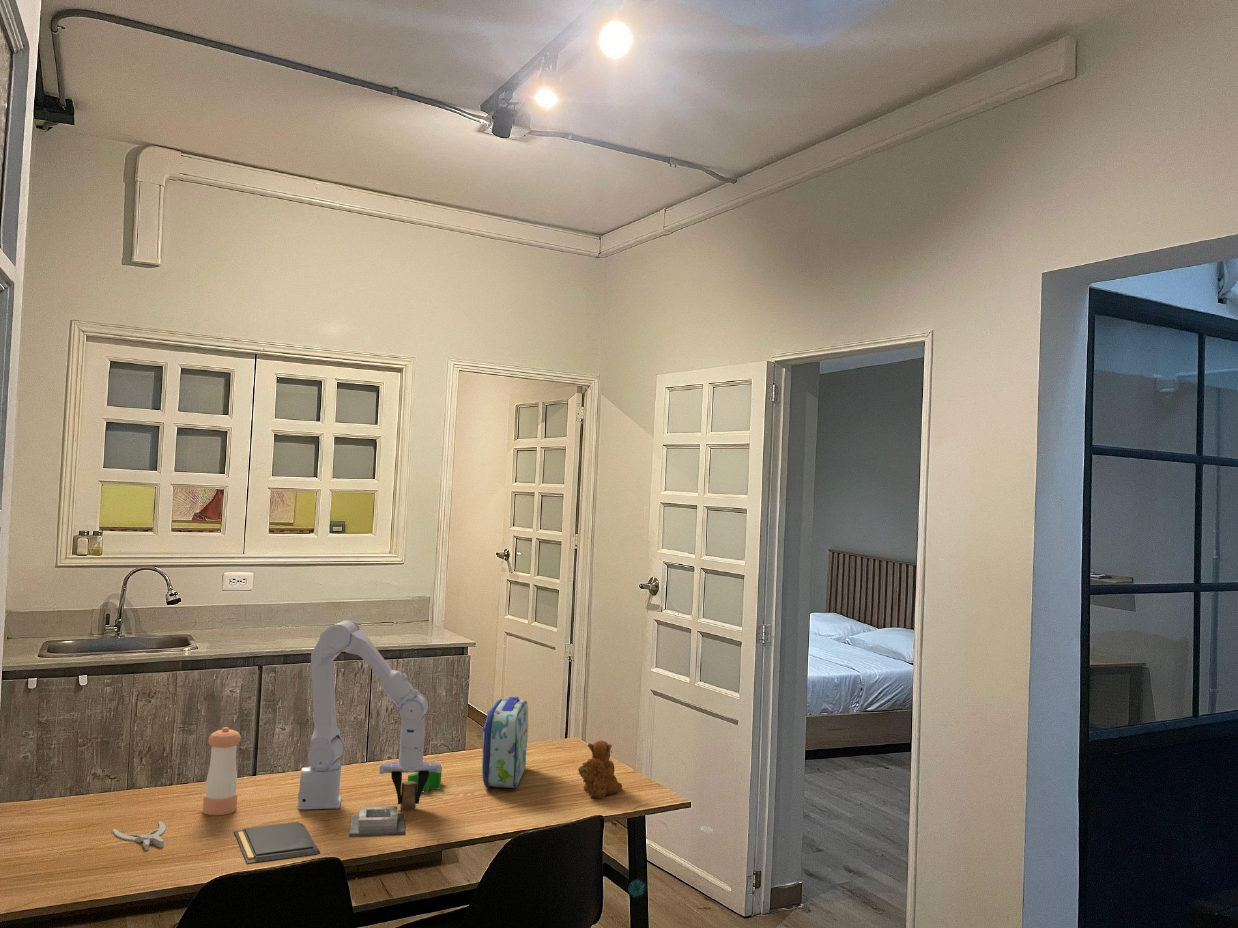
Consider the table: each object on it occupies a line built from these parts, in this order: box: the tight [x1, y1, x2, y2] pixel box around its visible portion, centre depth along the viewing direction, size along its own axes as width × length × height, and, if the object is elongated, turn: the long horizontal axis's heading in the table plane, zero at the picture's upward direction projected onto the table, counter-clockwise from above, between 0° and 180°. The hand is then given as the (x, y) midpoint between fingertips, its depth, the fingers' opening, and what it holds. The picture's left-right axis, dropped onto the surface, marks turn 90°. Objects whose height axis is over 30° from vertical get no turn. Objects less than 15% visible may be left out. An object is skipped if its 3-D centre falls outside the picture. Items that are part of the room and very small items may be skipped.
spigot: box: [399, 780, 417, 812], centre depth 218 cm, size 4×4×6 cm
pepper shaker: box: [202, 726, 242, 816], centre depth 211 cm, size 7×7×19 cm
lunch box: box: [481, 696, 529, 789], centre depth 246 cm, size 26×11×21 cm, turn 179°
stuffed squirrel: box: [577, 740, 623, 799], centre depth 237 cm, size 10×14×13 cm
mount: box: [348, 806, 406, 837], centre depth 206 cm, size 12×12×3 cm
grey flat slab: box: [233, 821, 322, 865], centre depth 193 cm, size 20×2×15 cm
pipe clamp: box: [407, 766, 443, 793], centre depth 234 cm, size 11×4×5 cm, turn 148°
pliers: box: [112, 821, 167, 851], centre depth 192 cm, size 10×2×15 cm
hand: (408, 802), depth 218 cm, fingers closed on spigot, 4 cm apart
